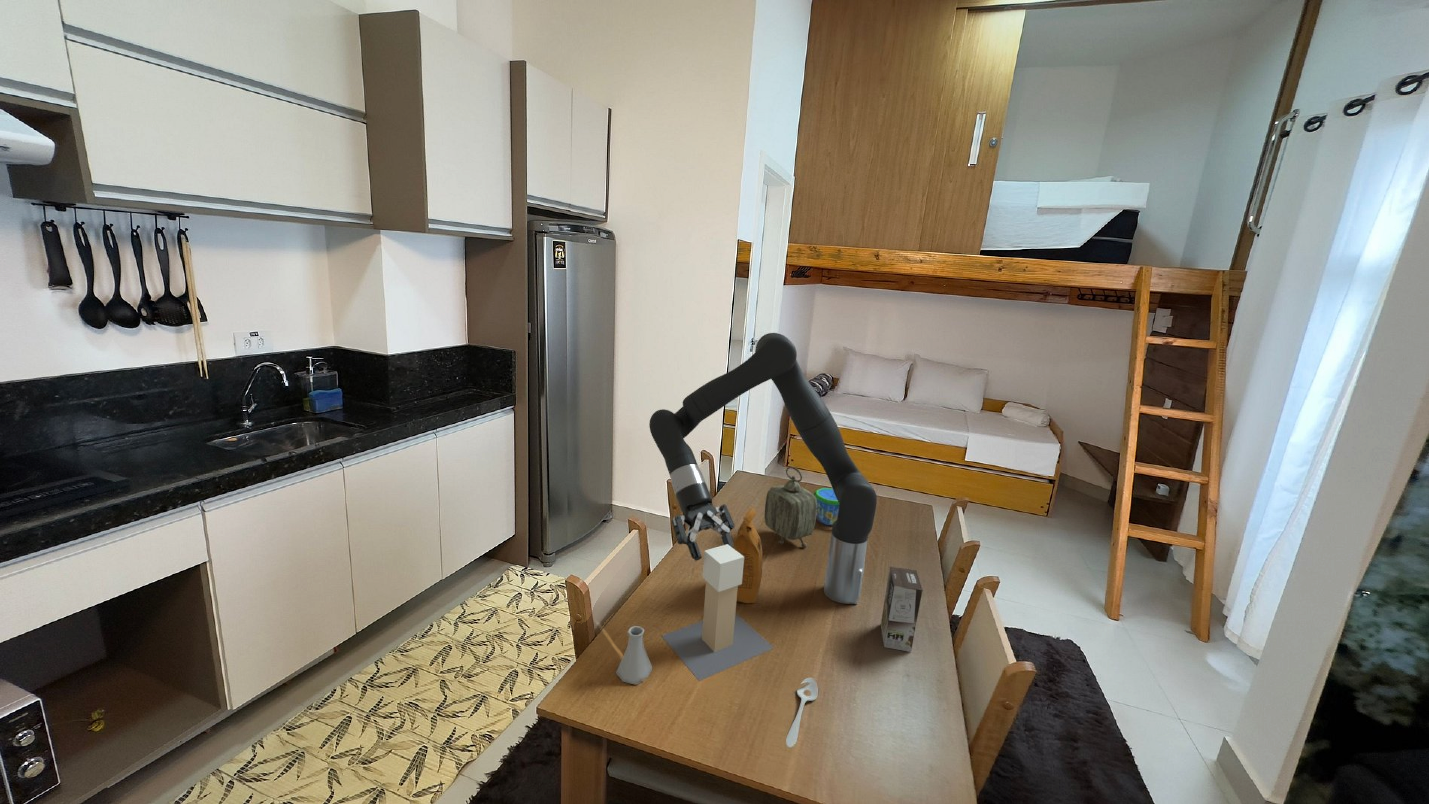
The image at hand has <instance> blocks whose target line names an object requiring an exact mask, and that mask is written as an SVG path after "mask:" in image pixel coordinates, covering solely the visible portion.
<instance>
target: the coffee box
mask: <svg viewBox="0 0 1429 804" xmlns="http://www.w3.org/2000/svg"><path fill="white" fill-rule="evenodd" d="M888 571H889V572H888V576H887V582H886V589H885V595H884V601H883V602H884V603H883V609H882V613H881V619H880V620H881V621H880V628H881V635H882V642H883V647H884V648H888V649H894V650H898V651H901V652H902V651H903V652H908V653H910V652H912V649H913V643H914V637H915V632H916V626H917V622H918V616H919V611H920V608H921V607H920V606H921V602H922V601H921V599H922V595H923V591H924V590H923V588H922V583H921V581H920V578H919V575H918V572H917V569H916V570H915V569H911V568H910V569H909V568H903V567H894V566H889V570H888Z"/></svg>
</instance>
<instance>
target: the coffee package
mask: <svg viewBox="0 0 1429 804" xmlns="http://www.w3.org/2000/svg"><path fill="white" fill-rule="evenodd" d="M756 515H757V512H756V510H755V509H754V508H749V510H748V511H747V512H746V514H745V515H744V516H743V518H742V519H743V521H742V522H741V524H740V526H739V527H738V529H737V532H736V536H735V538H734V539H733V540H732V541H733V543H734V546H733V549H735V550H736V551H737V552H739V553H740V554H741V555H742V556H744V566H743V577H742V584H741V585H738V589H737V601H736V602H739V603H744V604H755V603H756V602H757V599H758V596H759V592H760V587H761V582H762V577H763V576H762V575H763V546H762V541H761V537H760V535H759V533H758V531H757V529H756V528H755V526H754V522H753V520H754V518H755V517H756Z"/></svg>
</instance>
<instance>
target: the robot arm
mask: <svg viewBox="0 0 1429 804" xmlns="http://www.w3.org/2000/svg"><path fill="white" fill-rule="evenodd" d="M769 380H771V381H772V382H773V385H775V387H776V389H777V390H778V392H779V394H780V396H781V398H782V401H783V403H784V406H785V408H786V410H787V412H788V415H789V416H790V418H791V421H792V423H793V426H794V427H795V429H796V431H797V433H798V434H799V436H800V438H801V440H802V441H803V443H804V444H805V446H806V448H807V449H808V450H809V451H810V452H811V454H812V455H813V456H814V458H815V459H816V460H817V461H818V462H819V463H820V465H821V466H822V468H823V470H824V472H825V475H826V476H827V478H828V481H829V483H830V485H831V488H832V489H833V490H834V493H835V496H836V498H837V500H838V502H839V511H838V517H837V520H836V521H834V523H833V525H831V536H830V541H829V548H828V549H829V550H828V556H827V557H828V559H827V565H826V572H825V581H824V588H823V592H824V594H825V596H826V597H828V599H829V600H832V601H833V602H836V603H839V604H844V605H846V604H847V605H849V604H854V605H858V603H859V599H860V596H861V593H862V584H863V579H864V578H863V577H864V573H865V565H866V561H865V560H866V555H867V554H866V552H867V549H868V548H867V546H868V539H869V535H870V533H871V531H872V529H873V525H874V522H875V521H874V520H875V514H876V509H877V504H878V502H877V501H878V500H877V499H878V497H877V492H876V491H875V488H874V487H873V486H872V485H871V483H870V482H869V480H868V479H867V478H866V477H865V476H864V475H863V473H862V472H861V471H860V470H859V468H858V466H856V464H855V462H854V461H853V460H852V458H851V456H850V455H849V453H848V451H847V448H846V445H845V442H844V439H843V436H842V434H841V431H840V428H839V426H838V425H837V422H836V421H835V419H834V417H833V415H832V413H831V412H830V410H829V408H828V407H827V405H826V404H825V403H826V402H824V401H823V399H822V397H821V396H820V395H819V393H818V392H817V391H816V389H815V388H814V387H813V386H812V385H811V383H810V382H809V380H808V378H807V377H806V376H805V375H804V373H803V371H802V368H801V365H800V364H799V362H798V359H797V348H796V346H795V344H794V343H793V342H792V341H791V340H790V339H789V338H788V337H786V336H785V335H784V334H780V333H778V332H769V333H765V334H764V335H763V336H760V338H759V339H758V341H757V342H756V344H755V349H754V353H753V354H752V355H751V356H750V357H748V358H747V359H746V360H745V361H744V362H743V363H741V364H740V365H738V366H737V367H735V368H734V369H732V370H729V371H728V372H726V373H724V374H722V375H720V376H718V377H716V378H713V379H711V380H710V381H708V382H706V383H705V384H702V386H699V388H697V389H695V390H694V391H693V392H691V393H690V394H688V395H687V396H686V397H685V398H683V400H682V406H681V407H680V408H679V409H678V410H677V411H676V412H673V411H671V410H669V409H663V408H662V409H657V410H656V411H655V412H654V413H652V415H651V416H650V420H649V426H648V427H649V431H650V435H651V436H652V439H653V441H654V443H655V445H656V447H657V449H658V450H659V452H660V453H661V455H662V457H663V459H664V462H665V466H666V468H667V471H668V474H669V477H670V481H671V485H672V489H673V491H674V494H675V497H676V500H677V503H678V506H679V508H680V511H681V512H682V515H680V514H676V515H675V516H674V517H673V518H671V524H672V527H673V531H674V535H675V538H676V541H677V544H679V545H682V544H683V545H686V546H687V548H688V551H689V554H690V557H691V558H692V559H694V561H695V562H697V561H699V560H701V559H702V557H703V556H702V554H701V551H700V547H699V545H698V542H697V541H696V537H697V534H698V533H699V532H701V531H705V530H706V531H707V530H710V529H711V530H712V531H714V532H717V533H718V534H719V535H721V541H722V544H723V545H726V544H728V545H729V546H731V547H732V548H733V546H734V543H733V541H734V540H733V539H732V537H731V534H730V532H731V531H732V530H733V529H735V527H736V524H735V522H734V520H733V518H732V515H731V513H730V511H729V509H728V505H726V504H724V503H723V504H721V505H720V506H717V507H715V506H714V504H713V499H712V496H711V494H710V493H711V492H710V490H709V487H708V485H707V483H706V480H705V478H704V475H703V472H702V470H701V469H700V467H699V465H698V463H697V459H696V457H695V453H694V452H693V450H692V448H691V447H690V446H689V444H688V443H687V442H686V440H685V438H686V437H687V436H688V435H689V434H691V432H693V430H694V429H696V428H697V427H698V426H699V424H700V423H702V421H705V419H707V418H709V417H710V416H712V415H713V414H715V413H717V412H718V411H719V410H721V409H723V407H725V406H727V405H728V404H730V403H732V401H734V400H735V399H736V398H738V397H740V396H741V395H743V394H744V393H747V392H748V391H750V390H752V389H753V388H756V387H758V386H760V385H761V384H763V383H765V382H767V381H769ZM684 524H687V525H688V528H687V532H686V530H685V527H684Z"/></svg>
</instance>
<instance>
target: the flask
mask: <svg viewBox="0 0 1429 804" xmlns="http://www.w3.org/2000/svg"><path fill="white" fill-rule="evenodd" d="M644 633H645V629H644V628H643V627H642V626H638V625H633V626H631V627H629V629H628V630H627V635H628V642H627V647H626V648H625V649H626V650H625V651H624V654H623V657H622V658H621V661H620V663H619V665H618V667H617V669H616V672H615V673H616V675H617V677H619V679H620V680H621V681H622V682H623V683H624V682H625V683H628V684H632V685H638V684H640V683H643V680H645V679H647V678H649V676H650V674H651V672H652V670H653V666H652V663H651V661H650V659H649V655H648V653H647V651H646V648H645V645H644V637H643V635H644Z"/></svg>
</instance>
